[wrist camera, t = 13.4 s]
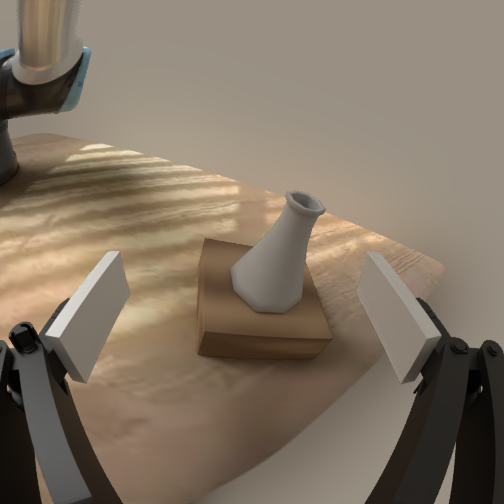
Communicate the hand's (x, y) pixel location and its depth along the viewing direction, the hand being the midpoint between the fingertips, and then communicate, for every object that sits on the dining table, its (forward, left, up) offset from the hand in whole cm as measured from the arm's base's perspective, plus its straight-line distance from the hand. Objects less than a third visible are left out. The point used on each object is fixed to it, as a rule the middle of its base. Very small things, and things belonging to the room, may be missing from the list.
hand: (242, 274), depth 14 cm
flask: (-8, +6, -9) cm, 14 cm away
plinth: (-8, +6, -13) cm, 16 cm away
